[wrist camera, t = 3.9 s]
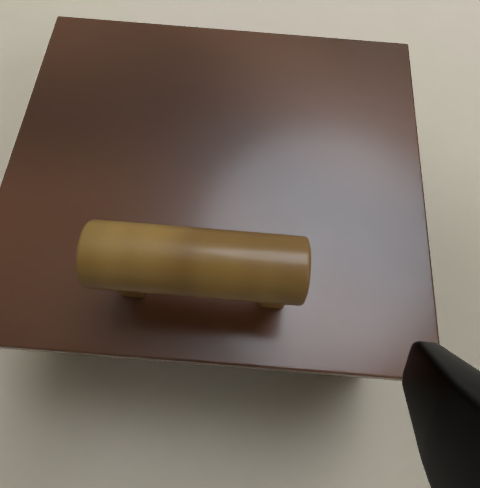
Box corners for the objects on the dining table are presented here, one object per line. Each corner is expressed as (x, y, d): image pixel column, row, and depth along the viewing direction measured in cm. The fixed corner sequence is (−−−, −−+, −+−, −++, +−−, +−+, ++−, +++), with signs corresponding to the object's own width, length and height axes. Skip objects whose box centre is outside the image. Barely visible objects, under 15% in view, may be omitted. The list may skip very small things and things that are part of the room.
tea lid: (432, 383, 11) (533, 375, 8) (-38, 345, 12) (-169, 318, 8) (401, 57, 16) (455, -49, 12) (64, 31, 16) (12, -84, 12)
